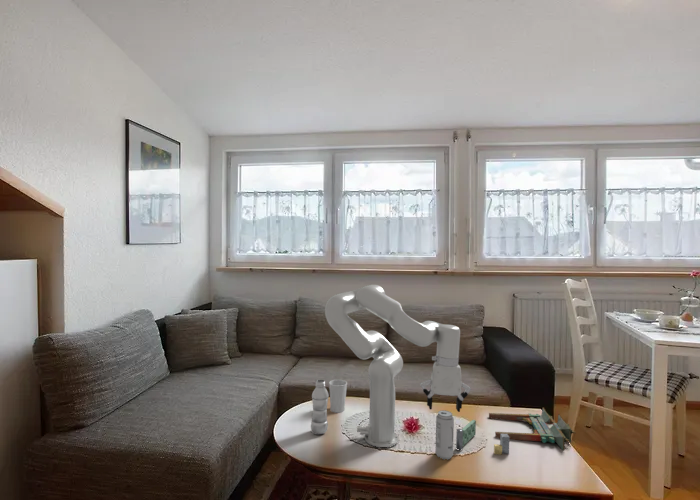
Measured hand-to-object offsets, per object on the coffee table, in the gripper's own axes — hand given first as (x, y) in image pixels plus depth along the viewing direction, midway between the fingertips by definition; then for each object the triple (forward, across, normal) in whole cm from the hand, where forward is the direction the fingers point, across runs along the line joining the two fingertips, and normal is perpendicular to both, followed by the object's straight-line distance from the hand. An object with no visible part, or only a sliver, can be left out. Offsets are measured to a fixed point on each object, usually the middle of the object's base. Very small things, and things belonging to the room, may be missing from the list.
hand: (443, 409), depth 139 cm
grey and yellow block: (+16, +22, +4) cm, 27 cm away
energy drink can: (+16, +1, 0) cm, 17 cm away
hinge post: (+16, +7, +4) cm, 18 cm away
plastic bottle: (+18, -45, +12) cm, 50 cm away
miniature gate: (+16, +40, +22) cm, 48 cm away
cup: (+18, -40, +34) cm, 55 cm away
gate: (+16, +12, +11) cm, 22 cm away
